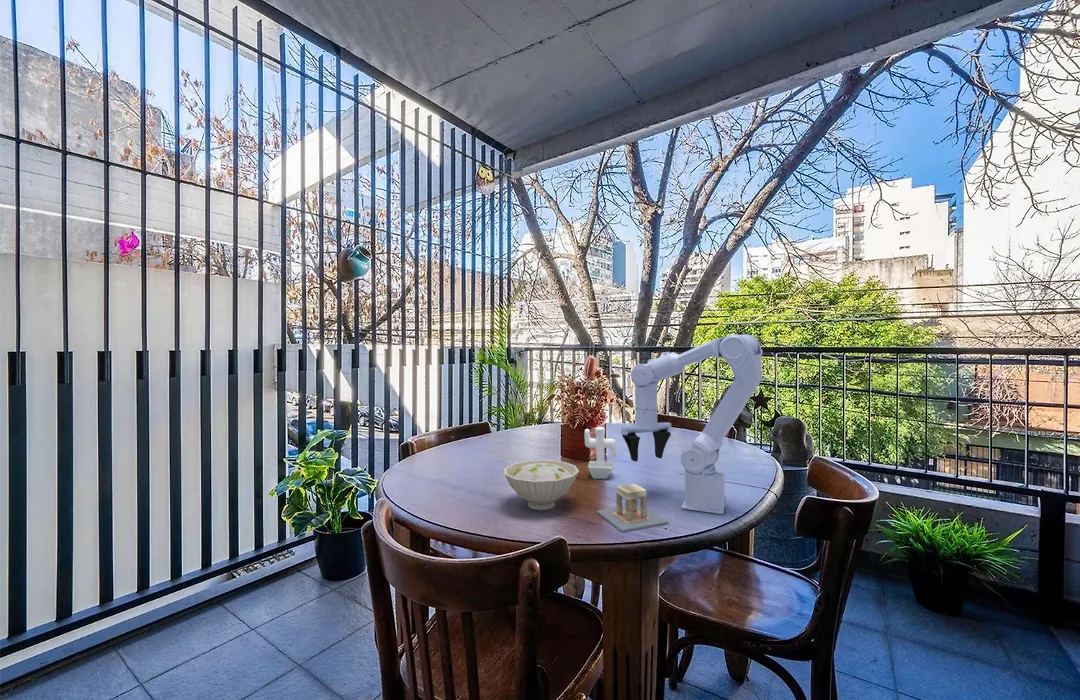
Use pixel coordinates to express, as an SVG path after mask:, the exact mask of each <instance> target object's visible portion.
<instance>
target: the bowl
mask: <svg viewBox="0 0 1080 700" xmlns="http://www.w3.org/2000/svg"><path fill="white" fill-rule="evenodd" d="M503 471H504V472H503V474H504V476H505V478H506V481H507V482H508V484H509V486H510V487H511V488H512V489H513V491H514V492H515V493H516V494H517V495H518V496H519V497H520V498H522V499H524V500H525V501H527V502H528V503H527V507H528V508H530V509H532V510H538V511H543V510H551V509H553V508H554V507H555V506H556V503H555V502H556V501H557V500H558V499H561V498H562V497H563V496H564V495H565V493H567V491H568V490H569V489H570V488H571V487H572V486H573V484H574V483H575V480H576V479H577V476H578V474H579V472H580V470H579V468H577V466H576V465H574V464H572V463H568V462H565V461H561V460H551V459H550V460H549V459H537V460H536V459H535V460H525V461H520V462H515V463H512V464H509V465H508V466H507V467H504V469H503Z"/></svg>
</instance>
